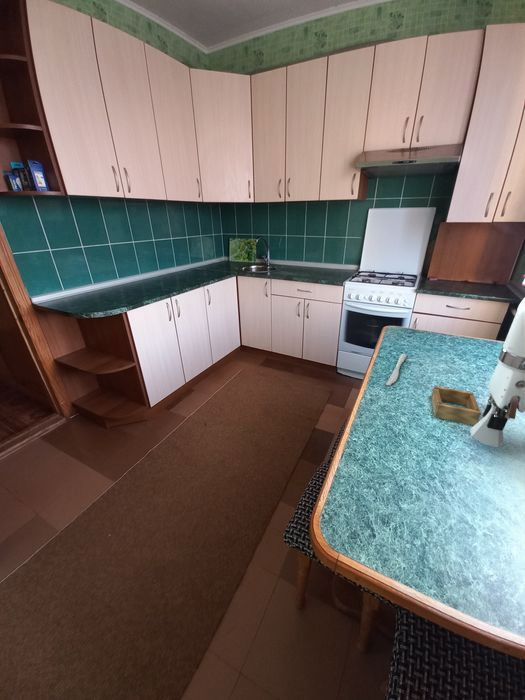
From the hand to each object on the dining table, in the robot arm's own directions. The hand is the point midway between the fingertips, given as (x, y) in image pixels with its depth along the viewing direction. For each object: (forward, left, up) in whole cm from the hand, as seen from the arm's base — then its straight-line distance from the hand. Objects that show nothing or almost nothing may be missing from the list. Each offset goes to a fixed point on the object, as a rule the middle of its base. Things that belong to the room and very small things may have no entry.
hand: (492, 422), depth 72 cm
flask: (0, 0, -5) cm, 5 cm away
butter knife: (+20, -33, -8) cm, 40 cm away
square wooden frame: (+5, -13, -7) cm, 16 cm away
